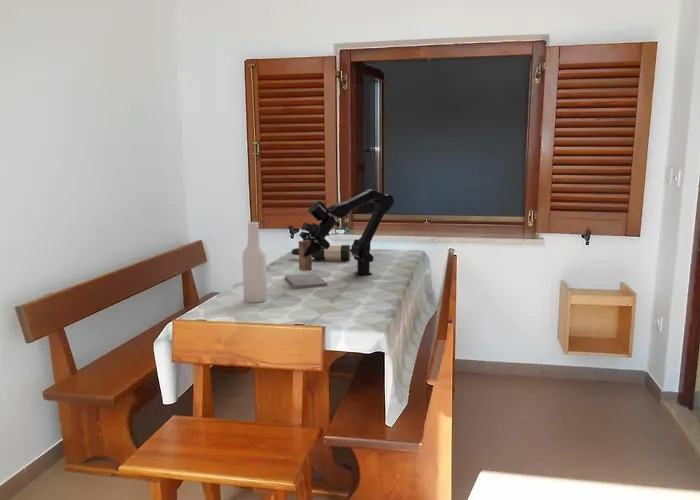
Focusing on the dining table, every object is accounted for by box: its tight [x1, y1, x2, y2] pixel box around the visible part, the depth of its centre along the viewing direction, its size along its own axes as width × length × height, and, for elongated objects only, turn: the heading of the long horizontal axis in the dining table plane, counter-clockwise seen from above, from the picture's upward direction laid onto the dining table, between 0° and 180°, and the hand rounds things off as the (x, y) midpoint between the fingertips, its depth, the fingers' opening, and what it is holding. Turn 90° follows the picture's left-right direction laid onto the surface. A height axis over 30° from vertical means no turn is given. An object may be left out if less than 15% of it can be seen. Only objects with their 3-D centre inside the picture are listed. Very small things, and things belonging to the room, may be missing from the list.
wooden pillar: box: [298, 240, 313, 272], centre depth 245 cm, size 4×4×12 cm
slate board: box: [284, 272, 328, 289], centre depth 247 cm, size 20×14×1 cm
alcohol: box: [241, 221, 268, 304], centre depth 216 cm, size 9×9×30 cm
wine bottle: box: [291, 244, 351, 262], centre depth 295 cm, size 8×8×30 cm
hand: (302, 255), depth 244 cm, fingers closed on wooden pillar, 4 cm apart
